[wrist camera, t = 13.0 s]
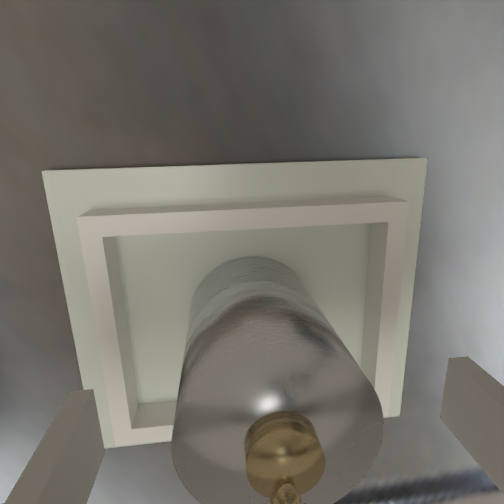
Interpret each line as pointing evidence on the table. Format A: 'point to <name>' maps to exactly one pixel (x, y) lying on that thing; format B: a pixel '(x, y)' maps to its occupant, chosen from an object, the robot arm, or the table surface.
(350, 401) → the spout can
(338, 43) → the table surface
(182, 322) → the guarded tray
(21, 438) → the table surface
